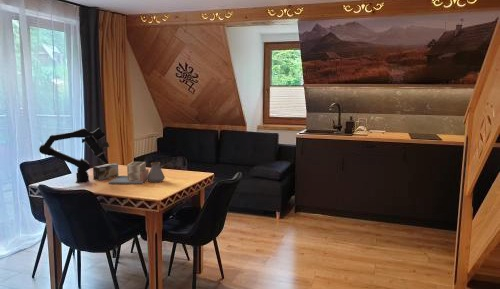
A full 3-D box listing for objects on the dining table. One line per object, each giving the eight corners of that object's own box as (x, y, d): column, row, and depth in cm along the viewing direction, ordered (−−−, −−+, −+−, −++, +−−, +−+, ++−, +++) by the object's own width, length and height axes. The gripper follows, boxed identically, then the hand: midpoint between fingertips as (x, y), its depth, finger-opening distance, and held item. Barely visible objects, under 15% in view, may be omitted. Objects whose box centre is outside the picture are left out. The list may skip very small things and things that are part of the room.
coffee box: (112, 163, 272) (92, 166, 258) (118, 164, 268) (98, 167, 255) (113, 175, 273) (93, 179, 260) (118, 176, 269) (98, 180, 256)
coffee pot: (143, 182, 253) (143, 160, 251) (157, 179, 262) (156, 157, 260) (165, 186, 240) (164, 163, 238) (178, 183, 250) (178, 161, 248)
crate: (127, 181, 249) (127, 165, 247) (133, 177, 261) (132, 161, 259) (141, 181, 249) (140, 165, 247) (146, 177, 261) (145, 161, 259)
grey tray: (108, 184, 246) (108, 173, 245) (117, 178, 264) (117, 168, 263) (142, 184, 246) (142, 173, 245) (149, 178, 264) (149, 168, 263)
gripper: (102, 136, 245) (117, 155, 248) (103, 138, 263) (117, 156, 265) (87, 146, 242) (103, 165, 244) (89, 148, 260) (104, 166, 262)
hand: (107, 163), depth 254 cm, fingers closed
